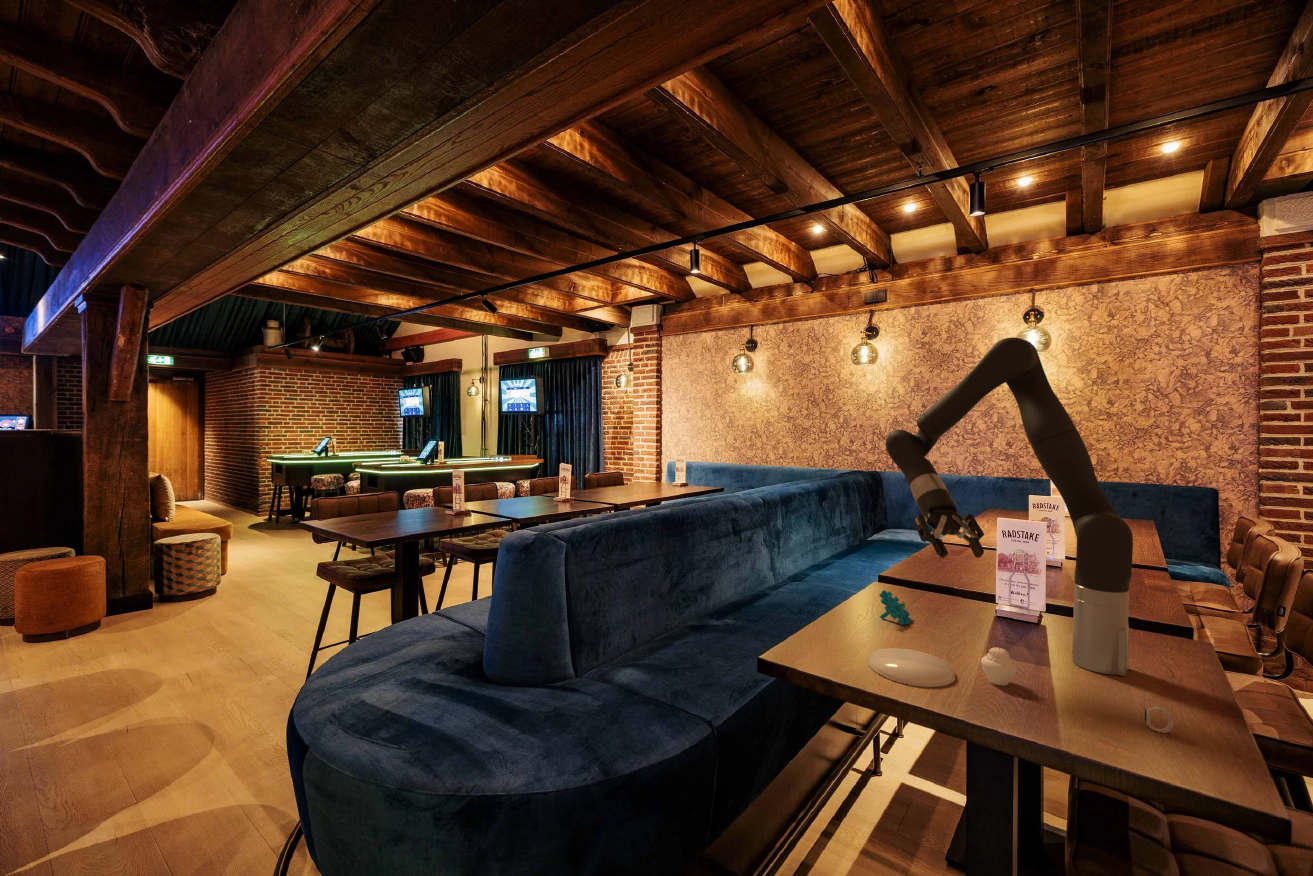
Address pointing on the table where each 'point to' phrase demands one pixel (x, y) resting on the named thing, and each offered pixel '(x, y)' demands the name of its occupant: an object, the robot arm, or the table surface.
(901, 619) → the teal knobbly lump
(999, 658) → the muffin
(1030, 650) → the table surface
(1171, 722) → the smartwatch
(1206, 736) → the table surface
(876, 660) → the plate
